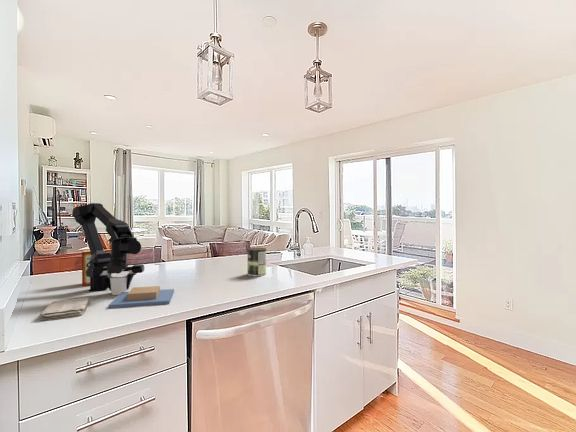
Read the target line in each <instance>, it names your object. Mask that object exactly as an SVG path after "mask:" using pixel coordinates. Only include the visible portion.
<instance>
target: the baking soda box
mask: <svg viewBox="0 0 576 432" xmlns="http://www.w3.org/2000/svg"><path fill="white" fill-rule="evenodd" d="M103 249H104V248H103ZM104 251H105V252H106V253H107V249H104ZM91 256H92V255H91V252H90V249H88V250H86V249H85V250H81V276H82V277H81V278H82V279H81V282H82V283H81V285H82V287H88V286H89V287H90V277H87V276H86V270H87V269H88V267H89V266H90V263H89V261H90V258H91Z"/></svg>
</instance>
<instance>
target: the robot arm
mask: <svg viewBox="0 0 576 432" xmlns="http://www.w3.org/2000/svg"><path fill="white" fill-rule="evenodd" d="M72 217H73V218H74V220H75V222H76V223H77V224H79V225H80V226H81V227H82V230H83V233H84V236H85V240H86V243H87V246H88V247H89V249H88V250H90V252H91V255H92V256H91V258H90V261H89V263H90V266H89V267H88V269H87V270H86V276H87V277H90V285H89V289H88V291H89V292H94V291H95V292H97V291H106V290H108V289H109V291H110V292H111V285H110V277H111V276H112V274H117V275H120V274H121V273H122V272H128V273H127V274H126V275H127V291H128V290H129V288H130V285H131V282H132V281H133V278H134V276H135V275H137V274H140V273H143V272H144V271H145V265H144V264H141V263H139V264H133V265H132V266H129V265H128V261H127V260H128V258H127V257H128V255H137V254H139V253H140V252H141V250H142V245H141V243H140V241H138V239H137V238H138V237H135V236H134V233H133V231H132V229H131V228H130V226H129V223H127V222H125V221H124V220H121V219H118V218H116V217H115V216H114V215H112V214H111V212H110V211H108V210H107V209H106V208H105V207H104V205H103V204H102V203H100V202H99V203H97V202H90V203H87V204H85V205H80V206H78V205H77V206H75V207H74V208H73V209H72ZM97 219H98V220H99V221H100V222H101V223H102V224H103V225H104V226H105V232H106V233H107V234H108V235H109V236H110V238H108V239H107V242H109V243H110V252H107V251H106V252H105V251H104V247H103V244H102V240H101V238H100V235H99V232H98V229H97V226H96V223H95V222H96V220H97Z"/></svg>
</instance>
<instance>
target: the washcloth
mask: <svg viewBox="0 0 576 432" xmlns="http://www.w3.org/2000/svg"><path fill="white" fill-rule="evenodd" d="M89 303H90V296H89V297H78V298H73V299H65V300H64V299H63V300H55V301H52V302H50V303H49V305H48V306H46V308H45V309H44V310H43V311H42V312H41V313H40V315H39V316H40V318H41V319H40V322H42V321H51V320H52V321H54V320H59V319H60V320H61V319H66V318H74V317H75V318H76V317H81V316H83V315H84V314H85V313H86V311H87V309H88V306H89Z"/></svg>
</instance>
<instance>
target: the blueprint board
mask: <svg viewBox="0 0 576 432" xmlns="http://www.w3.org/2000/svg"><path fill="white" fill-rule="evenodd" d="M174 293H175V289H174V288H170V289H169V288H168V289H161V285H157V286H156V285H155V286H152V285H151V286H139V287H138V286H136V287H132V288H131V290H129V291H127V292H122V293H121V294H119V295H117V296H116V297H115V298H114V299H113V300H112V301H111V302H110V303H109V304H108V309H118V308H119V309H120V308H132V307H145V306H157V305H159V306H160V305H161V304H162V305H170V303H171V300H172V298H173V296H174Z"/></svg>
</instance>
